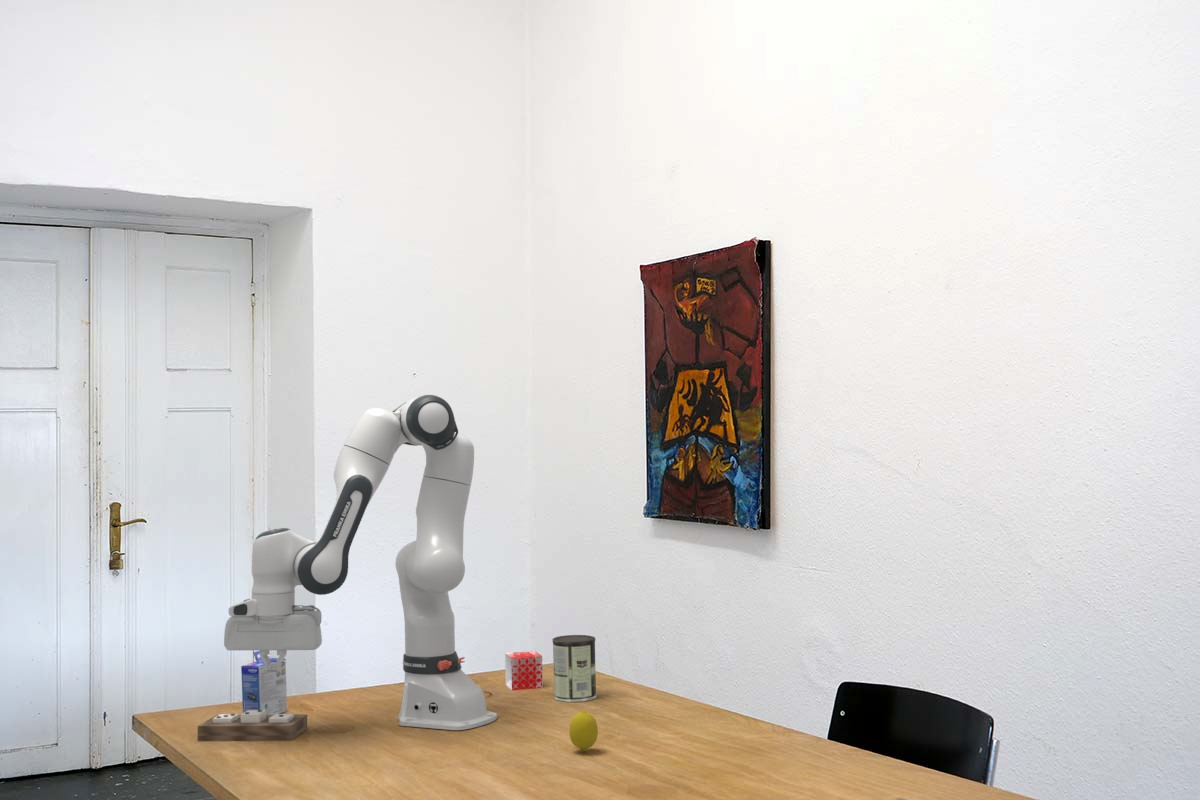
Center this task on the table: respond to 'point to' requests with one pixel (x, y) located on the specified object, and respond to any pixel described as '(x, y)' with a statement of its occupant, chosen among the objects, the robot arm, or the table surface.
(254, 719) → the button two
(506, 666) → the red and white cube
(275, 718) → the button one
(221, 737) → the button panel
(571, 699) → the coffee can
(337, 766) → the table surface
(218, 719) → the button three
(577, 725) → the lemon
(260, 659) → the ink cartridge box
